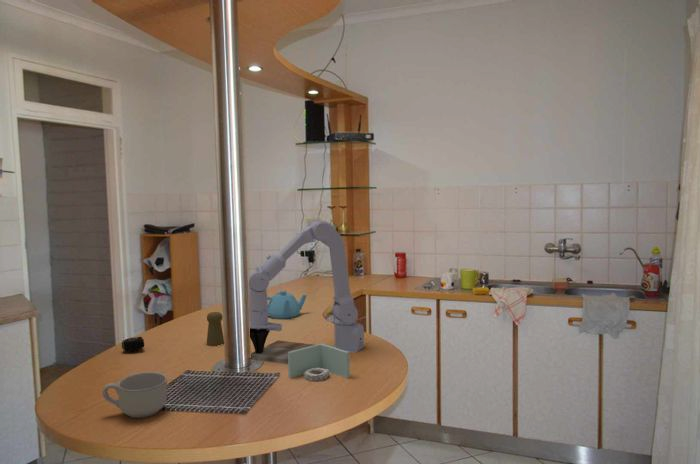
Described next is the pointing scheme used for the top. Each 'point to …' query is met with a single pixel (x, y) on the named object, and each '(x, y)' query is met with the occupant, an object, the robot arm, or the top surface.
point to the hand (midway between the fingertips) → (259, 352)
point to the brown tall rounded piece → (214, 329)
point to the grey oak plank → (273, 354)
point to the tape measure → (132, 343)
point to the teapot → (284, 305)
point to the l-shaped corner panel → (318, 362)
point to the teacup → (139, 394)
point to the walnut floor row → (289, 345)
